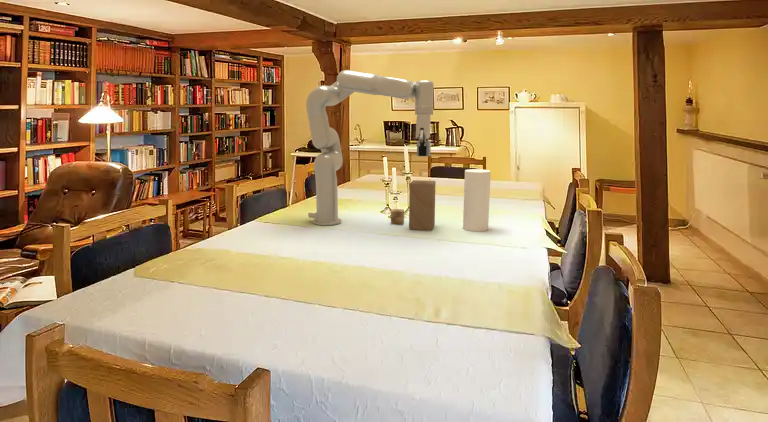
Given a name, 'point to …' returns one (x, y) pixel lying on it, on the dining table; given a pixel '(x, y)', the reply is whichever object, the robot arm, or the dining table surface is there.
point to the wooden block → (421, 205)
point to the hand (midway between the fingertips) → (423, 154)
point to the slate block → (428, 144)
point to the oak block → (397, 216)
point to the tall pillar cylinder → (476, 199)
